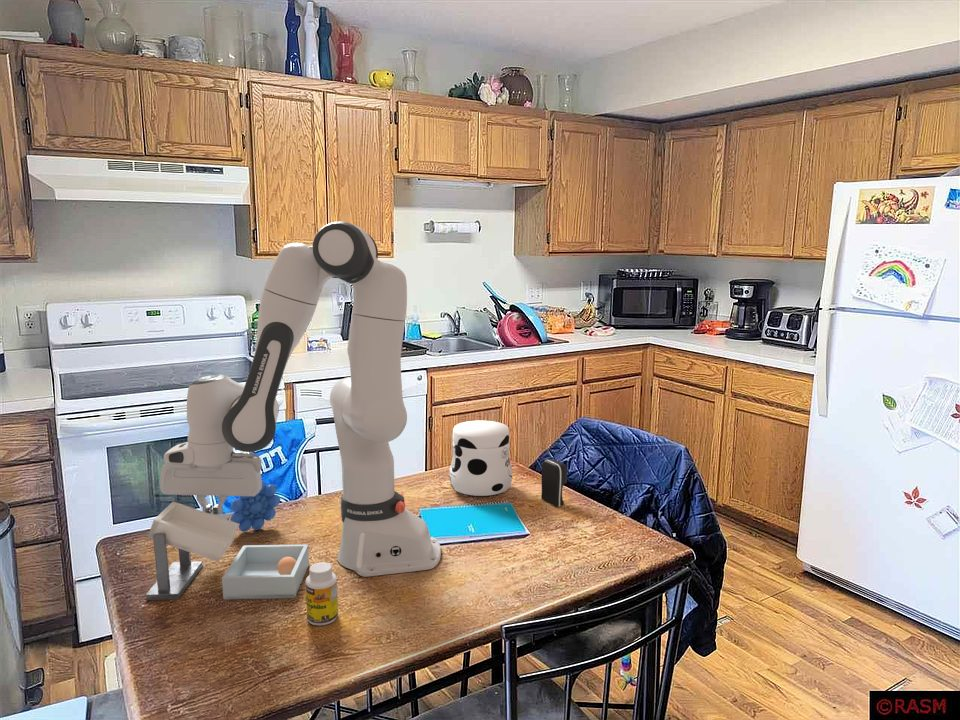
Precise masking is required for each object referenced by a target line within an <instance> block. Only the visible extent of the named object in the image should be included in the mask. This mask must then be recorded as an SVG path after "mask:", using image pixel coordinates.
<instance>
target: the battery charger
mask: <svg viewBox="0 0 960 720" xmlns="http://www.w3.org/2000/svg"><path fill="white" fill-rule="evenodd" d="M567 483H568V468H567V465H566V464H565V463H563V462H562V461H559V460H557V459H554V458H553V459H552V458H551V459H545V460H544V461H543V462H541V495H540V496H541V497H540V499H541V500H542V501H544V502H546V503H548V504H549V505H552V506H554V507H555V508H560V507H562V506H564V505H565V502H564V499H563V488H564V485H565V484H567Z"/></svg>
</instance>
